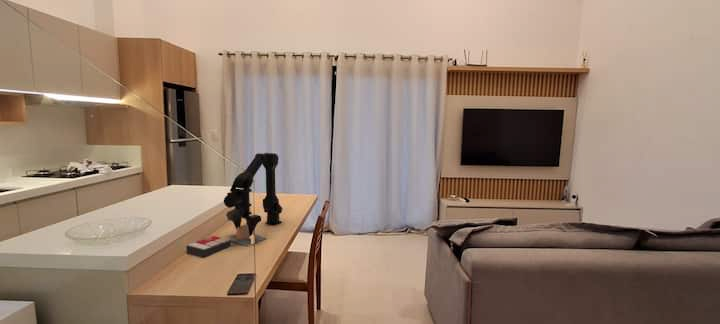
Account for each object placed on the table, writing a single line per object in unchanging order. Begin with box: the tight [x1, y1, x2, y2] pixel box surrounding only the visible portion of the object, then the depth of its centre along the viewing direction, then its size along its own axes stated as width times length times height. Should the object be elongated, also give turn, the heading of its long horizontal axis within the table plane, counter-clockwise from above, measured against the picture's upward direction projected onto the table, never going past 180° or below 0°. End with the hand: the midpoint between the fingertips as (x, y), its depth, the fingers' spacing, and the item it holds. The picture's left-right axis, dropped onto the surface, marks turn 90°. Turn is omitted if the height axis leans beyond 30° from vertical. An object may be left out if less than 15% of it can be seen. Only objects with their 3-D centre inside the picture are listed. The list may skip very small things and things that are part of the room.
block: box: [236, 223, 250, 240], centre depth 164 cm, size 7×2×6 cm, turn 147°
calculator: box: [186, 235, 232, 259], centre depth 151 cm, size 11×4×15 cm
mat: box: [228, 233, 267, 247], centre depth 164 cm, size 12×13×1 cm
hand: (244, 233), depth 165 cm, fingers open, 9 cm apart
